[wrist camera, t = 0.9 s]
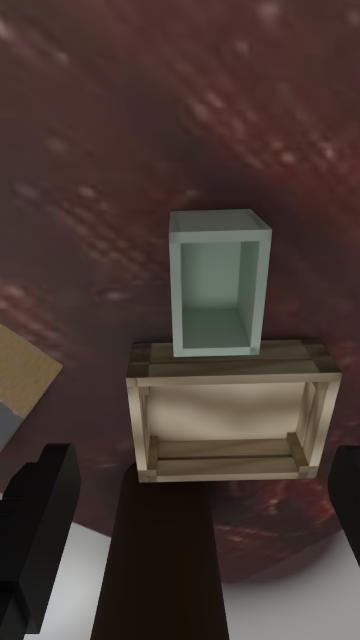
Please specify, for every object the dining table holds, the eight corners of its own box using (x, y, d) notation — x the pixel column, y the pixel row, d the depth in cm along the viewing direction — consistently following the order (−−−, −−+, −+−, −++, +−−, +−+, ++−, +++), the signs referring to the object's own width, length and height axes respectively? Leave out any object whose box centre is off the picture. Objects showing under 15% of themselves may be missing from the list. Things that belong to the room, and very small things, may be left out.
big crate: (133, 343, 28) (125, 378, 24) (318, 338, 28) (342, 372, 24) (143, 441, 34) (139, 482, 30) (298, 437, 34) (315, 478, 30)
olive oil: (121, 445, 34) (21, 1009, 12) (223, 456, 35) (303, 998, 13) (112, 508, 39) (30, 989, 17) (202, 517, 40) (233, 982, 18)
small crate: (170, 211, 23) (168, 232, 18) (250, 208, 23) (272, 229, 18) (174, 314, 27) (173, 356, 22) (242, 312, 27) (258, 354, 22)
